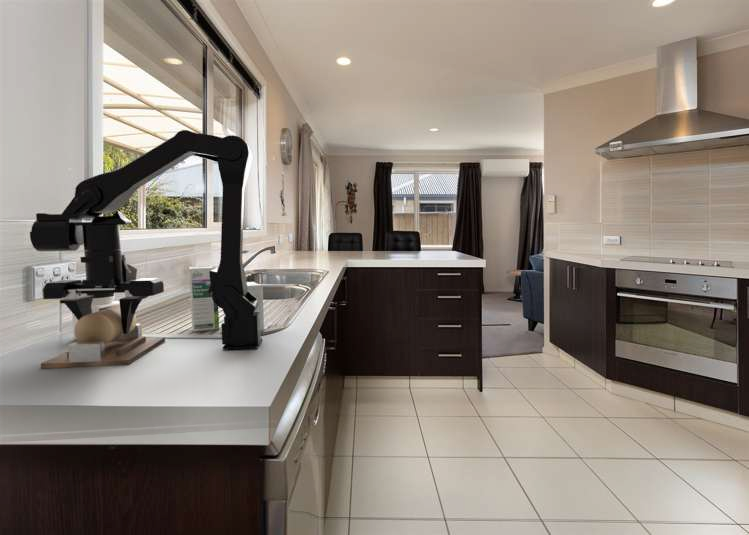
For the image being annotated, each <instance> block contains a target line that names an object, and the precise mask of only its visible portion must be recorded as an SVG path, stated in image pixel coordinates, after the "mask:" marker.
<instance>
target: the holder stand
mask: <svg viewBox="0 0 749 535" xmlns="http://www.w3.org/2000/svg"><path fill="white" fill-rule="evenodd" d="M142 331H143V330H142V323H136V326H135V328H134V329H133V330H132V331H131V332H129V333H128V334H125V335H123V336H121V337H119V338H117V339H115V340H113V341H111V342H109V343H107V344H105V345H104V342H79V341H78V342H71V343H69V344H67V348H68V349H67V350H68V351H65V352H63V353H61V354H59V355H56V356H54V357H53V358H50V359H48V360H45V361H43V362H41V363H40V369H56V368H58V369H59V368H60V369H61V368H76V367H77V368H80V367H81V368H83V367H104V366H106V367H107V366H126V365H127V366H130V365H131V364H132V363H134V362H135V361H137V360H139V359H140V358H142V357H143V356H145V355H146V354H148V353H149V352H150V351H152V350H154V349H155V348H158V346H160V345H162V344H163V343H165V342H166V337H165V336H164V337H161V336H160V337H146V336H143V332H142Z"/></svg>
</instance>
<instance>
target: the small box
mask: <svg viewBox="0 0 749 535" xmlns="http://www.w3.org/2000/svg"><path fill="white" fill-rule="evenodd" d="M246 282H247V289H248V291H249V292H250V293H251V294H252V295H253V296H255V297H256V298H257V299H258V300H259V303H258V306H257V309H256V310H255V312H260V332H263V331H262V330H265V323H264V322H265V320H264V318H265V317H264V315H265V314H264V285H262V284H259V283H257V282H255V281H246Z"/></svg>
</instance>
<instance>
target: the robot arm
mask: <svg viewBox="0 0 749 535" xmlns="http://www.w3.org/2000/svg"><path fill="white" fill-rule="evenodd" d="M192 156H194V157H198V158H202V159H205V160H208V161H212V162H214V163H217V166H218V171H219V176H220V181H221V184H222V185H221V186H222V194H221V195H222V198H221V200H222V202H221V204H222V205H221V231H220V232H221V233H220V234H221V236H220V260H219V265H218V266H217V267H216V268H215V269H213V270H211V271H209V275H210V283H211V285H210V289H209V291H208V293H211V292H212V299H213V301H214V303H215V304H216V305H217V306H218V308H220V309H222V311H223V313H224V316H223V322H222V323H221V344H222V345H223V346H222V350H226V351H227V350H240V349H241V350H245V349H248V350H249V349H258V348H259V346H260V345H261V344H262V342H263V338H262V336H261V334H262V333H261V331H260V312H255V310H256V309H257V306H258V303H259V300H258V299H257V298H256V297H255V296H253V295H252V294H251V293H250V292H249V291H248V289H247V282H248V281H247V276H246V271H245V267H244V262H243V261H244V260H243V245H244V242H243V241H244V240H243V239H244V215H245V214H244V213H245V189H246V184H247V182H248V179H249V176H250V171H251V167H252V162H253V153H252V151H251V149H250V147H249V145H248V144H247V142H246V141H245V140H244V139H243V138H241V137H240V136H237V135H234V134H233V135H226V136H223V137H220V136H217V135H211V134H207V133H206V134H205V133H200V132H193V131H190V130H189V129H188V130H187V129H182V130H179V131H178V132H176V133H175V134H174V136H172V137H171V138H169V139H167V140H165V141H164V142H162V143H160V144H159V145H157V146H155V147H154V148H152V149H150V150H149V151H147V152H145V153H144V154H141V155H140V156H139V157H137V158H136V159H134V160H132V161H131V162H129V163H128V164H125V165H124V166H122V167H120V168H118V169H115V170H112V171H108V172H104V173H100V174H97V175H94V176H91V177H89V178H87V179H86V178H85V179H84V180H82V181H80V182H79V183H78V184H77V185H76V187H75V191H74V196H73V198H72V199H71V201H70V202H69V203H68V204H67V206H66V207H65V209H64V210H63V211H62V213H60V214H59V213H57V214H56V213H53V214H52V213H46V212H44V213H43V212H42V213H41V212H40V213H36V214H35V217H36V220H35V221H34V222H33V223H32V226H31V230H30V232H29V238H30V242H31V245H32V247H33V248H34V249H35V250H36V251H37V252H75V251H77V250H79V248H80V246H83V250H84V251H83V252H84V256H80V263H82V264H83V263H84V264H85V265H84V268H85V278H86V279H82V280H81V279H69V280H66V279H65V280H57V281H49V282H46V283H45V284H44V286H43V288H42V289H41V292H42V299H43V300H59V304H65V306H66V307H67V308H68V309H69V310H70V312H71V314H72V313H73V314H74V315H75V317H76V318H77V319H78V320H79V319H80V318H82V317H83V316H85V315H88V314H91V313H92V308H91V304H92V300H93V297H94V296H87V294H88V293H115V294H118V293H120V294H121V293H123V294H125V297H123V298H122V297H121V298H119V302H120V311H121V321H122V328H123V332H124V334H128V333H129V330H130V327H131V324H132V321H133V318H134V315H135V314H136V312H137V309H138V307H139V305H140V303H141V302H142V301H143V300H144V299H147V298H148V297H153V296H156V295H159V294H162V293H164V291H165V289H164V285H165V284H164V282H163V280H162V279H161V278H160V277H149V278H148V277H147V278H146V277H144V278H137V273H138V269H137V268H136V267H134V265H133V266H132V265H131V264H128V263H127V261H126V256H125V254H122V250H121V249H122V246H121V245H122V244H121V230H120V229H121V228H120V226H131V225H132V224H133V222H132V220H130V219H129V218H127V217H126V216H125V215H124V214H123V212H120V211H118V210H119V209H120V208H121V207H122V206H124V205H125V204H126V203H127V202H128V201H129V200H130V199H131V198H132V196H133V195H134V194H135V193H136V192H137V190H138V189H140V188H141V187H143V186H145V185H147V183H149V182H151V181H152V180H154V179H155V178H157V177H159V176H161V175H162V174H164V173H165V172H167V171H169V170H170V169H172V168H173V167H175V166H177V165H179V164H180V163H182V162H183V161H185V160H187V159H188V158H190V157H192ZM112 213H113V215H107V216H105V215H104V214H112ZM101 215H102V216H101ZM103 215H104V216H103ZM82 220H91V221H87V222H83V221H82ZM95 285H101V286H97V287H95ZM109 285H112V286H109Z"/></svg>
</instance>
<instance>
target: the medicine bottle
mask: <svg viewBox="0 0 749 535" xmlns="http://www.w3.org/2000/svg"><path fill="white" fill-rule="evenodd" d="M97 286H101V285H95V287H97ZM109 286H112V285H109ZM115 294H116V293H88V294H87V296H94V297H93V300H92V304H91V308H92V313H94V312H97V311H100V310H103V309H106V308H109V307H112V306H115V305H120V302H119V301H117V300H116V301H114V300H115V299H116V297H115V296H116V295H115ZM71 315H72V330H73V339H75V340H77V338H76V336H75V325H76V323H77V322H78V319H77V318H76V317H75V315H74V314H73V313H72V312H71Z"/></svg>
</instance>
